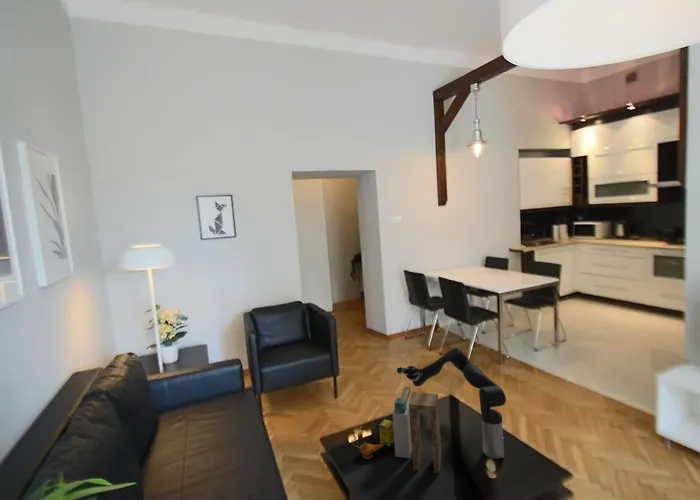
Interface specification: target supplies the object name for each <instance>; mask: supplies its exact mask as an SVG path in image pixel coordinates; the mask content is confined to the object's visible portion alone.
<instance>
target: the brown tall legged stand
mask: <svg viewBox="0 0 700 500" xmlns="http://www.w3.org/2000/svg"><path fill="white" fill-rule="evenodd" d="M409 401H410V402H409V415H410V431H411V446H412V450H411V457H412V458H411V459H412V469H413V471H419V469H420V467H421V466H420V465H421V460H422V455H423V452H422V451H423V450H422V434H421V433H422V432H421V420H420V410H424V411H429V416H430V431H431V447H432V448H431V449H432V451H431V452H432V464H433V466H432V467H433V474H440V473H441V472H440V471H441V466H442V465H441V464H442V440H441V425H440V424H441V423H440V408H439V394H438V393H433V392H431V393H430V392H429V393H428V392H419V391H418V392H417V391H412V393H411V397H410V399H409Z"/></svg>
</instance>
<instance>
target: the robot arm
mask: <svg viewBox="0 0 700 500" xmlns="http://www.w3.org/2000/svg"><path fill="white" fill-rule="evenodd" d="M449 362H450V363H451V364H452V365H453V366H454V367H455V368H456V369H457V370H459V371H460V372H461V373H462V374H463V377H464V379H465V380H466V381H467V382H468V384H469V385H470V386H472V387H473V388H476V389H478V390H479V392H478V397H479V406H480V414H481V429H482V451H483V454H484V455H485V456H486V457H487V458H490V459H494V460H498V459H505V449H504V447H505V446H504V444H505V443H504V432H503V430H504V429H503V415H502V414H501V413H500V412H499V411H498V410H497V409H493V408H495V407H501V406H504V405H505V404H506V402H507V398H506V394H505V392H504V390H503V389H502V388H501V387H500V386H499V385H498V384H497V383H496V382H494V381H493V380H492V379H490V378H489V377H488V376H487V375H486V374H485V373H484V372H483V371H482V370H481V369H480V368H479V367H478V366H477V365H475V364H473V363H472V362H471V360H470V358H469V357H468V355H466V354H465V353H464V352H463V351H462V349H460V348H459V347H456V348H452V349H451V350H449V351H448V352H446V353H445V354H444V355H442V356H441V357H439V358H438V359H437V360H435V361H434V362H432V363H430V364H428V365H426V366H424V367H423V368H418V367H416V366H414V365H409V366H407V367H401V366H399V367H397V368H396V373H397V374H399V375H405V376H406V378H407V379H408V380H410V381H411V382H412V384H413V386H415V387H421V386H423V385H424V384H425V383H426V382H427V381H428V380H429V379H431V378H433V377H435V376H437V375H439V373H440V372H441V371H442V369H443V367H444V365H445V364H447V363H449Z"/></svg>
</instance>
